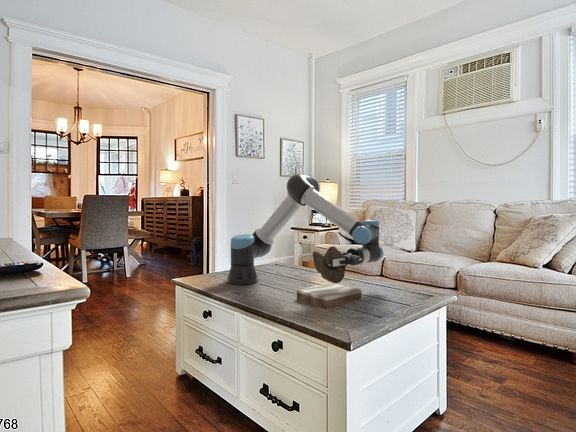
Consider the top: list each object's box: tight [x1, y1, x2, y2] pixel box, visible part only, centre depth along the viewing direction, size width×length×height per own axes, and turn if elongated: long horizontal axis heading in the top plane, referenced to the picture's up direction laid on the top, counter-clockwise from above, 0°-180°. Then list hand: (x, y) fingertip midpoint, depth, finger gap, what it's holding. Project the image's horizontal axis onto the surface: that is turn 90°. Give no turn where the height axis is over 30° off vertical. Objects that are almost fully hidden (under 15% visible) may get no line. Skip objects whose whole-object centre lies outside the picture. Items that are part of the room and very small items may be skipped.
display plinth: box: [296, 282, 362, 309], centre depth 152 cm, size 17×21×4 cm
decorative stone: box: [311, 246, 348, 284], centre depth 151 cm, size 16×11×15 cm
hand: (322, 261), depth 148 cm, fingers closed on decorative stone, 11 cm apart
